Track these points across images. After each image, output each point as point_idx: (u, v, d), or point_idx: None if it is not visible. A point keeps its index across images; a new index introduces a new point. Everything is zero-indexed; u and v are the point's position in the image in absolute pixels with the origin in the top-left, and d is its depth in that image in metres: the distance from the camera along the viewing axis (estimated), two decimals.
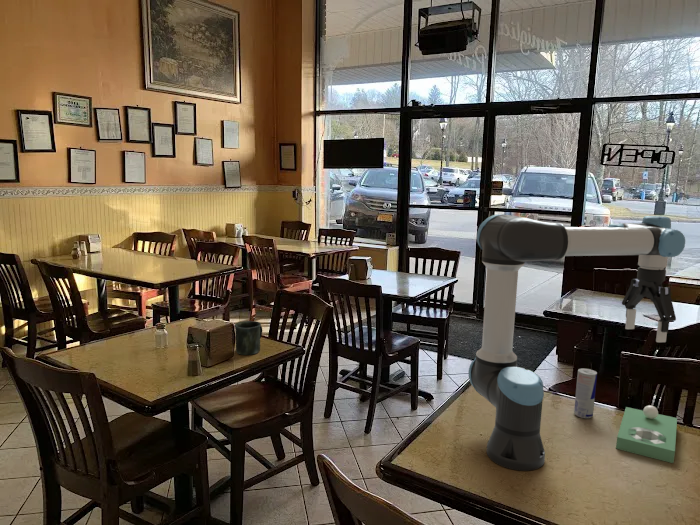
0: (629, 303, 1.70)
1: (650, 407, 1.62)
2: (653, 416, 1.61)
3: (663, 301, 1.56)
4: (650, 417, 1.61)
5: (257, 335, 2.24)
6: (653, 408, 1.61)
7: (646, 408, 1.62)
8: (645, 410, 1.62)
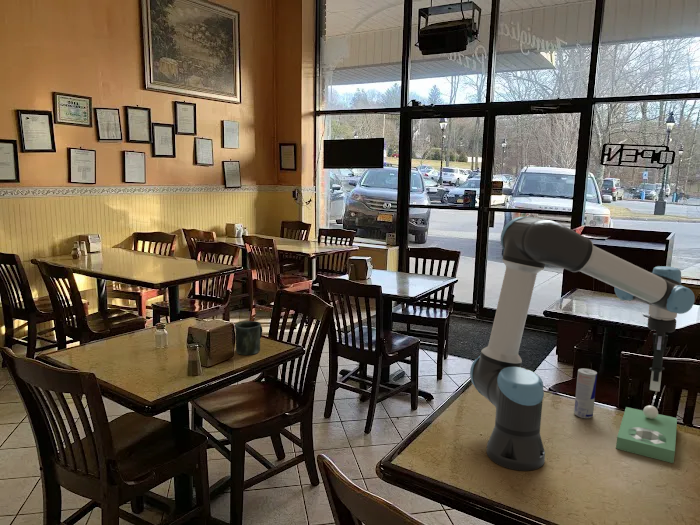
0: None
1: (650, 407, 1.62)
2: (653, 416, 1.61)
3: None
4: (650, 417, 1.61)
5: (257, 335, 2.24)
6: (653, 408, 1.61)
7: (646, 408, 1.62)
8: (645, 410, 1.62)
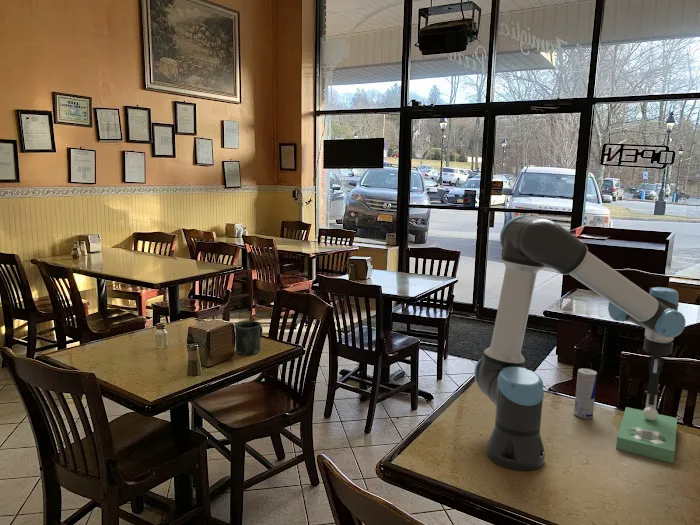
0: None
1: (649, 412, 1.60)
2: None
3: (649, 377, 1.59)
4: (650, 420, 1.61)
5: (257, 335, 2.24)
6: (652, 413, 1.60)
7: (645, 413, 1.61)
8: (644, 414, 1.61)
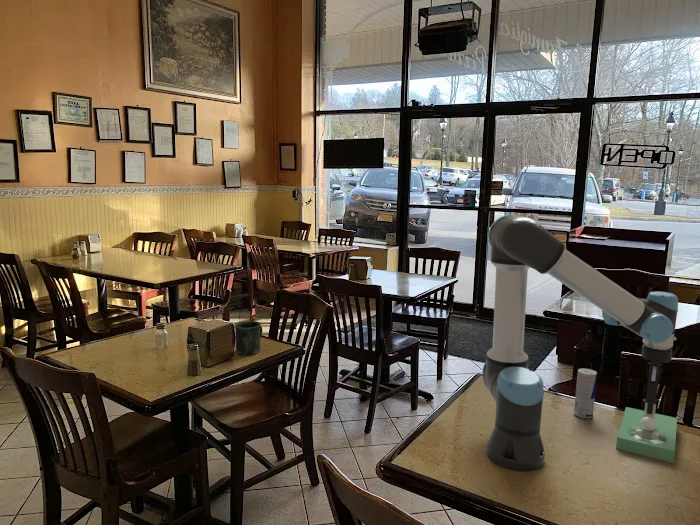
0: None
1: None
2: None
3: None
4: (650, 417, 1.55)
5: (257, 335, 2.24)
6: None
7: None
8: None
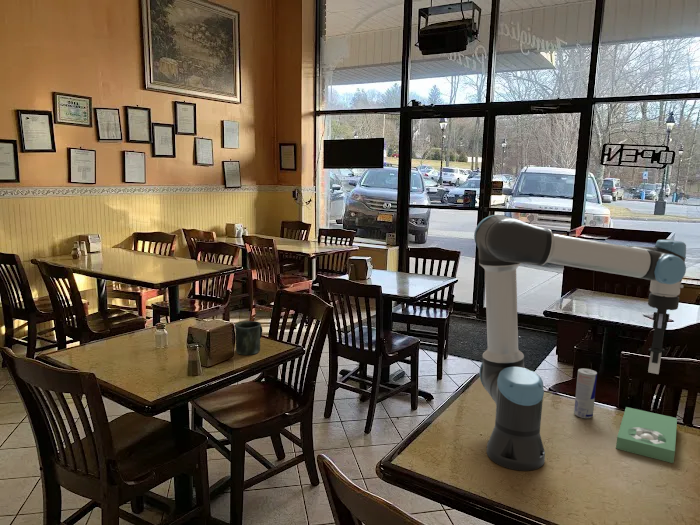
0: None
1: (646, 438, 1.51)
2: None
3: None
4: None
5: (257, 335, 2.24)
6: (649, 439, 1.50)
7: None
8: None
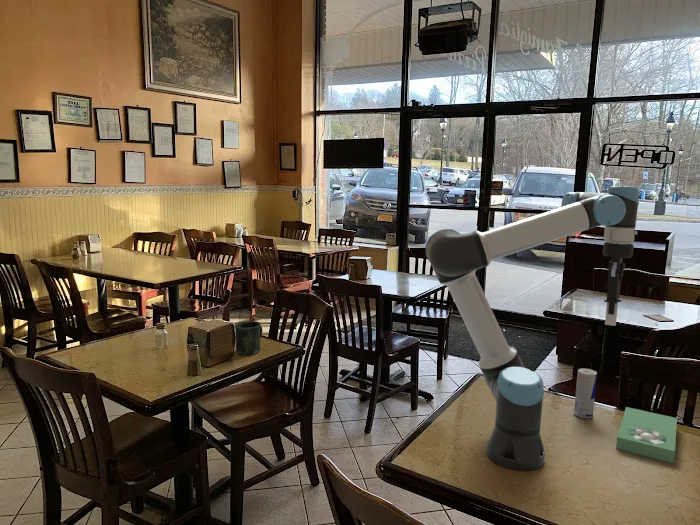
0: None
1: (646, 436, 1.52)
2: None
3: (608, 282, 1.47)
4: None
5: (257, 335, 2.24)
6: (649, 437, 1.51)
7: (642, 437, 1.52)
8: None
